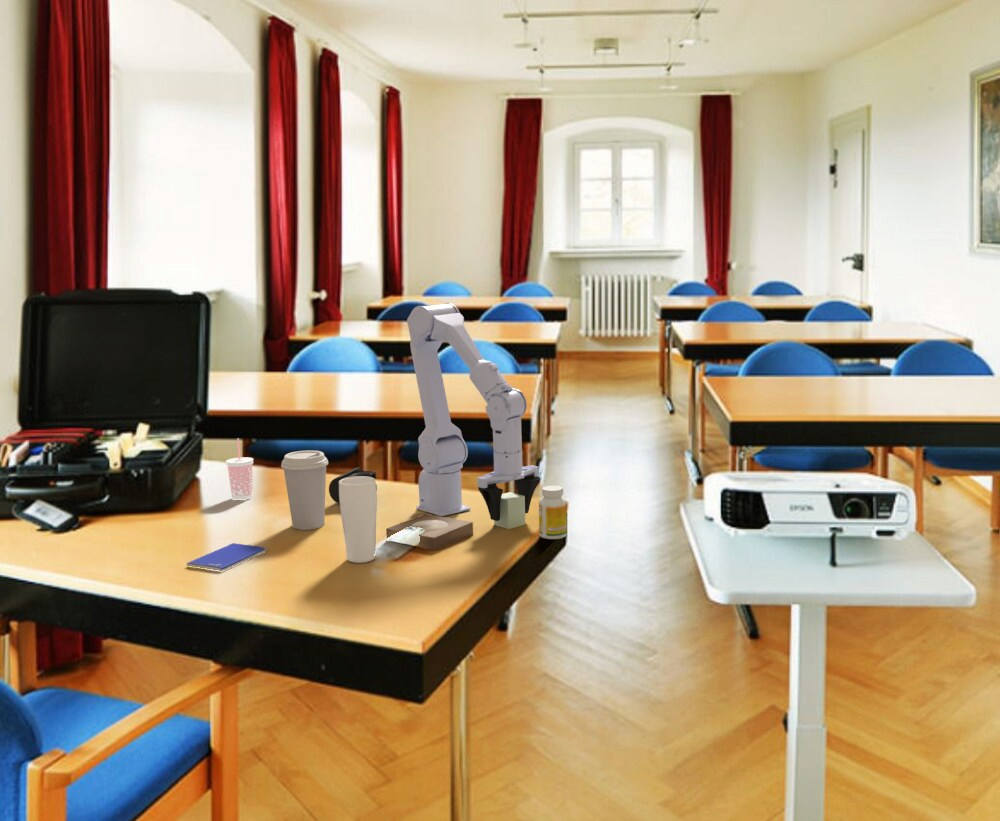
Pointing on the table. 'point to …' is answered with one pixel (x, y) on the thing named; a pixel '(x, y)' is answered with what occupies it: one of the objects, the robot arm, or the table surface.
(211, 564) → the blue notebook
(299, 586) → the table surface
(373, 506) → the drinking glass
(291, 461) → the coffee cup
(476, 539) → the table surface
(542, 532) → the supplement bottle
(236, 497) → the beverage cup
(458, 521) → the plinth
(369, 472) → the end cap
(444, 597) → the table surface
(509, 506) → the block
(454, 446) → the robot arm
